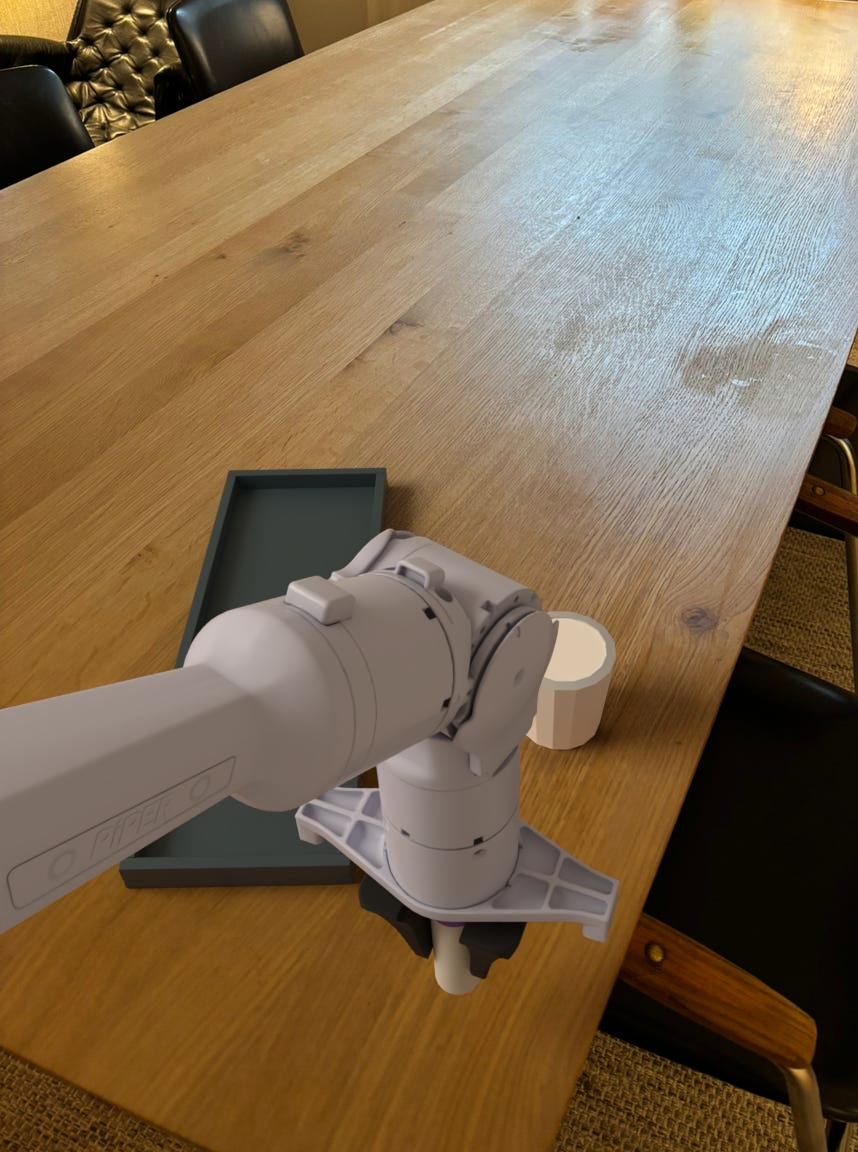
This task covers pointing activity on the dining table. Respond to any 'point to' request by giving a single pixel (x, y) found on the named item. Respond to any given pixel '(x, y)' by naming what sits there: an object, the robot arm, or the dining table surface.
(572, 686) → the white cup
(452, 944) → the glue stick
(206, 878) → the desk tray
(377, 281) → the dining table surface
